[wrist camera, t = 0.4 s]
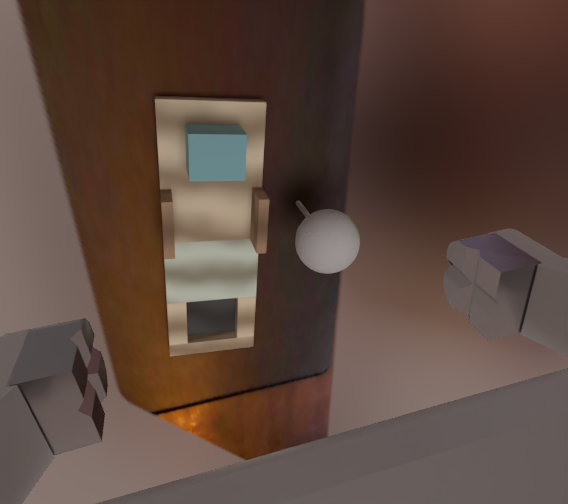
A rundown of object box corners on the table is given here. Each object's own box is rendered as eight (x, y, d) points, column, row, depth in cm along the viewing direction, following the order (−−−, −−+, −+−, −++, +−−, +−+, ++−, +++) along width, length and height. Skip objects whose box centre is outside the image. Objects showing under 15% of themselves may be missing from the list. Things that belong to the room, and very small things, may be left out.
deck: (154, 95, 48) (155, 106, 43) (262, 99, 51) (275, 109, 46) (169, 347, 65) (171, 376, 59) (250, 338, 68) (258, 365, 63)
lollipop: (329, 213, 61) (377, 268, 48) (282, 235, 61) (318, 296, 48) (313, 167, 57) (361, 214, 44) (263, 191, 57) (297, 244, 44)
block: (184, 123, 48) (188, 134, 45) (239, 124, 50) (246, 134, 46) (186, 168, 51) (189, 181, 47) (238, 167, 52) (245, 180, 49)
